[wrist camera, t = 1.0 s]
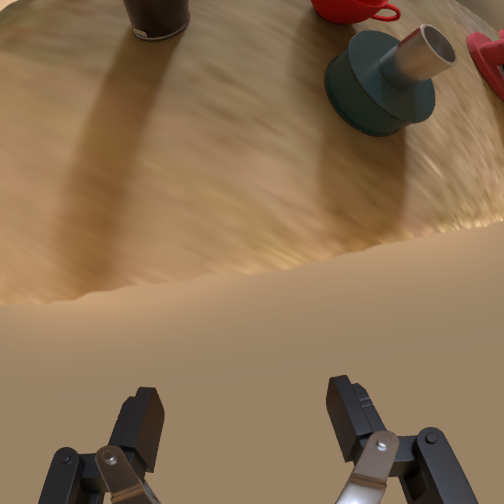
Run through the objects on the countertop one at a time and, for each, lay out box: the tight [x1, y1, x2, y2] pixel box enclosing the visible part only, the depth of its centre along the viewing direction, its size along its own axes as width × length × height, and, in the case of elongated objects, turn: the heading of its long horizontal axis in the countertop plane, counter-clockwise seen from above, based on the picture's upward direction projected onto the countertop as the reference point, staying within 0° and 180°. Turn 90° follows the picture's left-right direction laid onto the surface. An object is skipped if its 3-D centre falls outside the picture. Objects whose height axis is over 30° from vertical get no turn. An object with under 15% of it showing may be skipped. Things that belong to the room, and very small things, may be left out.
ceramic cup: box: [311, 0, 401, 24], centre depth 29 cm, size 13×17×10 cm
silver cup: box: [379, 24, 457, 91], centre depth 23 cm, size 6×6×10 cm
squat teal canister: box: [324, 30, 435, 137], centre depth 32 cm, size 16×16×9 cm
